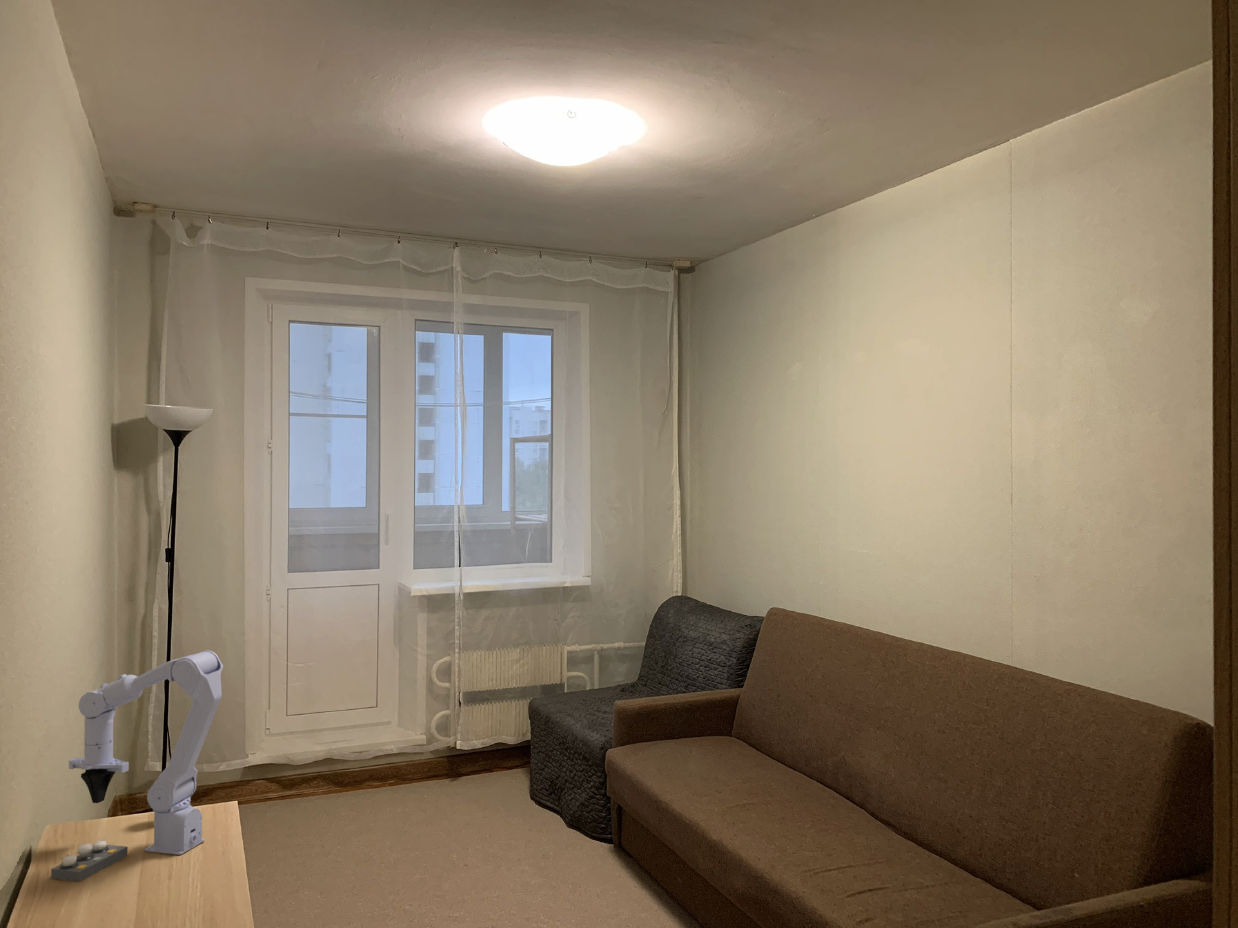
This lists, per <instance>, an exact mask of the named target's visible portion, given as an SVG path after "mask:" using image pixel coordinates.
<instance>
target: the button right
mask: <svg viewBox="0 0 1238 928" xmlns="http://www.w3.org/2000/svg"><path fill="white" fill-rule="evenodd" d="M107 842H108V841H107V840H97V841H95V842H93V843H92V848H93V850H94V851H99V850H103V849H105V848H106V845H107Z"/></svg>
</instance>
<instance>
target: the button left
mask: <svg viewBox="0 0 1238 928" xmlns="http://www.w3.org/2000/svg"><path fill="white" fill-rule="evenodd" d="M77 856H78V855H74V854H73V855H67V856H64V857H62V858H61V864H62V866H71V865H74V864H76V862H77Z"/></svg>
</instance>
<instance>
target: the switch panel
mask: <svg viewBox="0 0 1238 928" xmlns="http://www.w3.org/2000/svg"><path fill="white" fill-rule="evenodd" d="M128 848H129V847H128V846H124V845H115V844H106V848H105V849H103V850H99V851H94V850H93V847H92V851H91V852H90V853H87V854H78V855H76V856H77V862H76V864H74V865H71V866H62V863H61V864H58V865H56V866H55V867H52V868H51V869H50V871H51V872H50V874H51V875H50V879H51V878H53V879H52V880H61V881H68V882H76V883H77V882H78V883H80V882H81V881H83V880H86V879H87V878H89V877H91V876H93V875H95V874H96V873H98V872H100V871H101V870H104V869H106V868H108V867H110V866H111V865H113V864H115V863H117V862H118V861H121V860H123V859H124V858H126V857H128V855H129V854H128Z"/></svg>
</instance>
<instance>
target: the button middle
mask: <svg viewBox="0 0 1238 928" xmlns="http://www.w3.org/2000/svg"><path fill="white" fill-rule="evenodd" d="M92 848H93V843H92V844H91V843H83V844H81V845H79V846H78V847H77V854H78V855H80V854H87V853H90V852H91V851H92Z"/></svg>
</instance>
